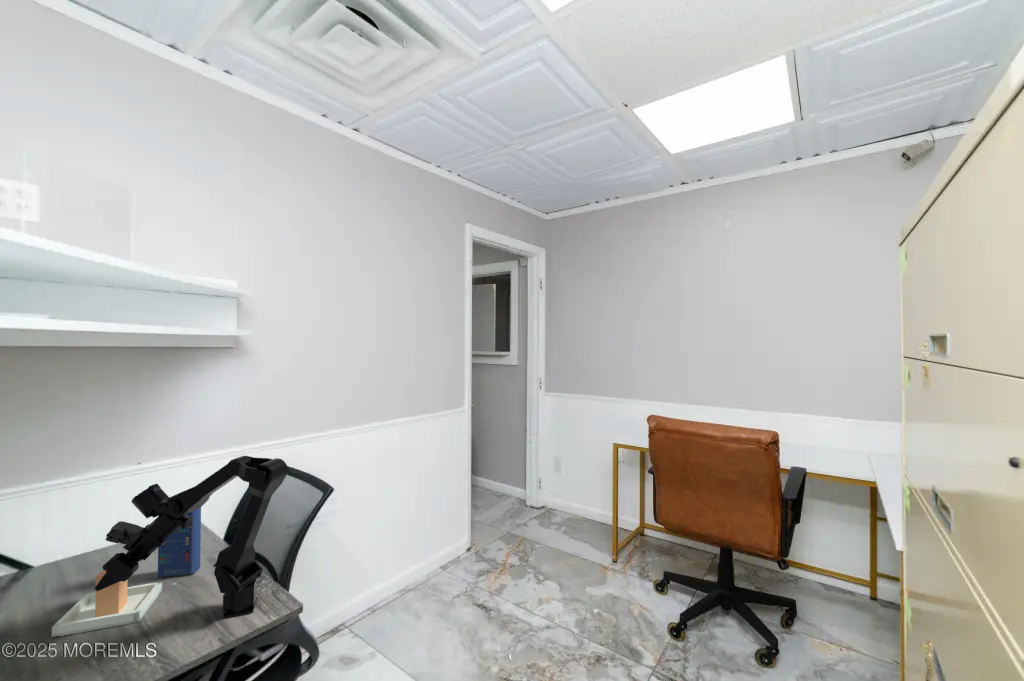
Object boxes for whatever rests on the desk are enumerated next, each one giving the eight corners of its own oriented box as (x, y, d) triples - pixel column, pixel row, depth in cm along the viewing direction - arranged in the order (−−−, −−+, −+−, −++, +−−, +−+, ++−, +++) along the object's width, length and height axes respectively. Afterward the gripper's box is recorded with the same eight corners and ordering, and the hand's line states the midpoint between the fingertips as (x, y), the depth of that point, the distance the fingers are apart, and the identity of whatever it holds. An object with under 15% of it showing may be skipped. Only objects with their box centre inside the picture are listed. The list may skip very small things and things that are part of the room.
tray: (161, 590, 116) (162, 581, 116) (138, 622, 103) (138, 611, 103) (86, 603, 111) (86, 593, 111) (51, 638, 98) (51, 627, 98)
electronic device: (155, 579, 122) (156, 509, 122) (166, 569, 127) (167, 503, 127) (192, 575, 124) (193, 507, 124) (201, 566, 129) (202, 500, 129)
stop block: (127, 603, 110) (127, 564, 110) (118, 613, 106) (119, 573, 106) (104, 606, 108) (105, 567, 108) (95, 617, 104) (95, 576, 104)
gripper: (148, 498, 117) (96, 545, 113) (114, 526, 100) (51, 582, 96) (182, 523, 120) (133, 569, 116) (154, 553, 103) (95, 609, 99)
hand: (105, 580), depth 107 cm, fingers open, 8 cm apart
